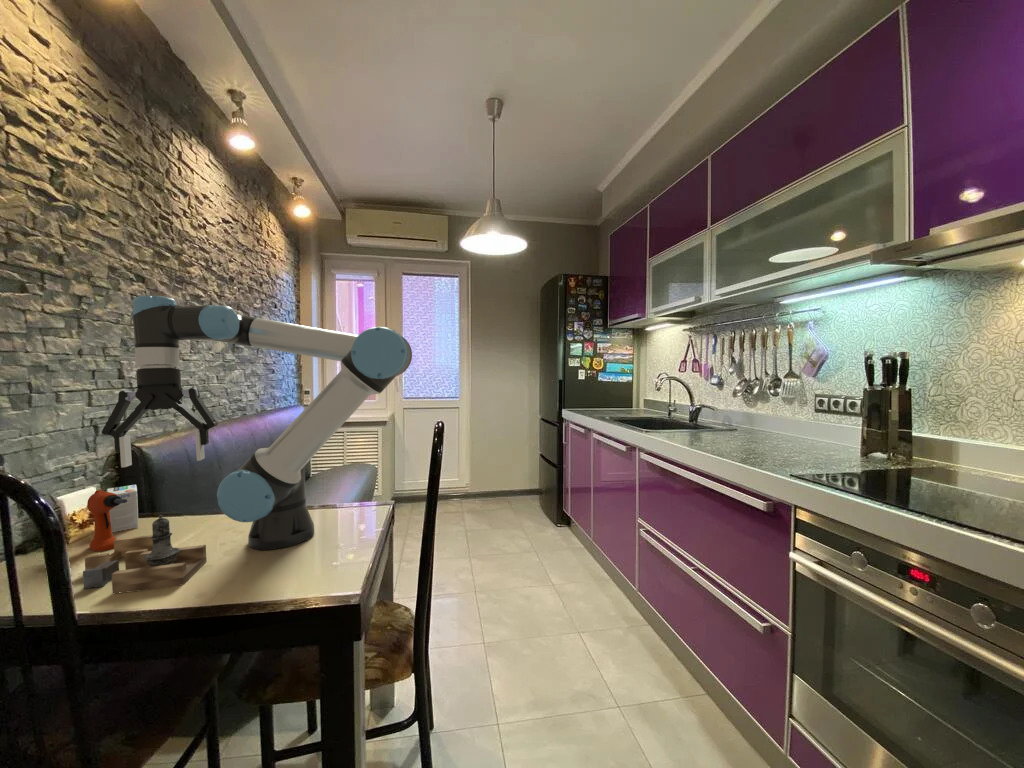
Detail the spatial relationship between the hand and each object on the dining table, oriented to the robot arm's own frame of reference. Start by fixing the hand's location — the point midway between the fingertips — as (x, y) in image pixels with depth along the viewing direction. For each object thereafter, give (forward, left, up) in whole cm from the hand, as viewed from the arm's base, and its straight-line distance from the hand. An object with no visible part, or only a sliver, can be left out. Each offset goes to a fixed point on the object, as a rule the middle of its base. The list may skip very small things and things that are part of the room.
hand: (164, 462), depth 94 cm
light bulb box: (+28, -37, -24) cm, 52 cm away
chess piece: (-1, +5, -22) cm, 23 cm away
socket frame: (+11, -7, -24) cm, 27 cm away
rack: (-1, +5, -24) cm, 24 cm away
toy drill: (+20, -17, -24) cm, 35 cm away
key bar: (+11, +3, -24) cm, 26 cm away
